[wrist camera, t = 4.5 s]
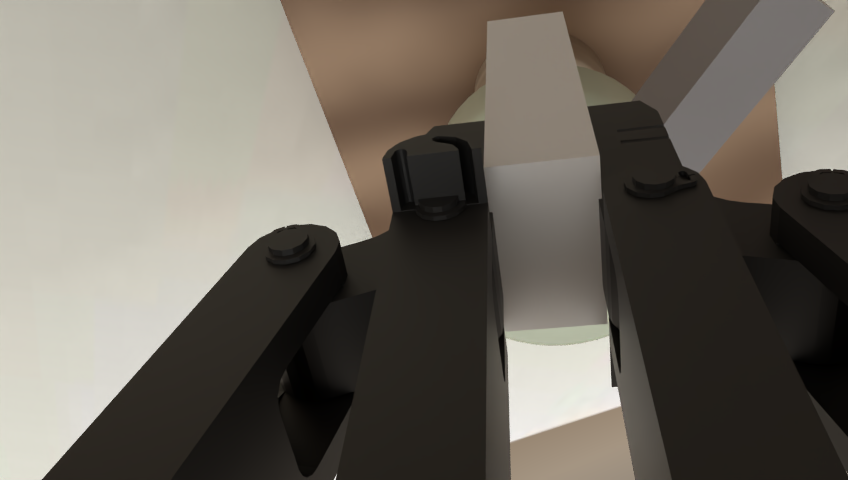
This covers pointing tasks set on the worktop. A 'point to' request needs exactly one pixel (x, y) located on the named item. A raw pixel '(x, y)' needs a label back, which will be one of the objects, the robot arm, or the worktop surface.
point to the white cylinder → (696, 91)
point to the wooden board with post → (466, 72)
